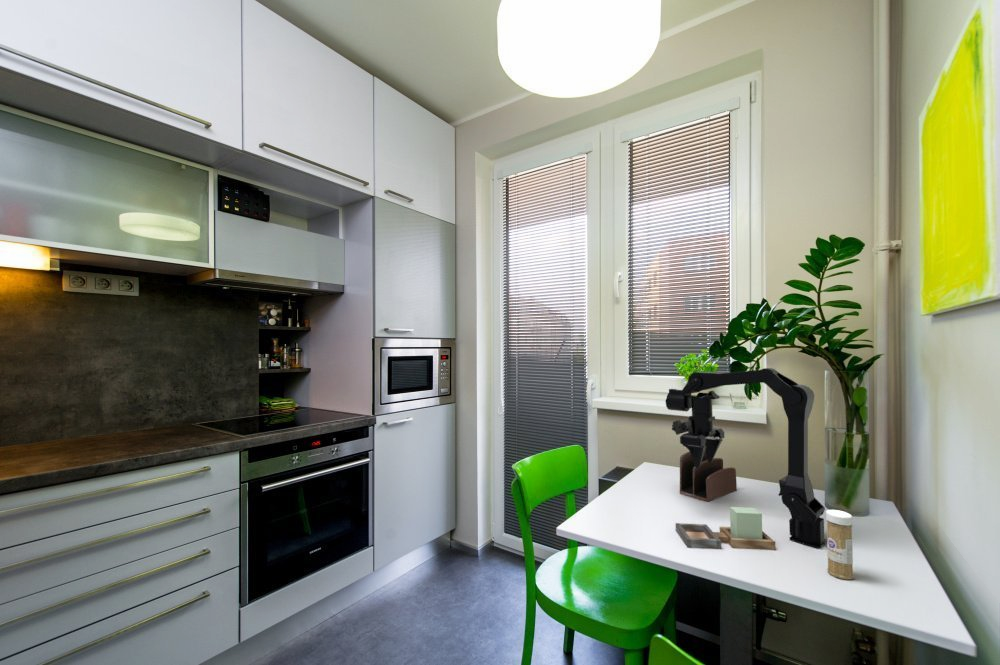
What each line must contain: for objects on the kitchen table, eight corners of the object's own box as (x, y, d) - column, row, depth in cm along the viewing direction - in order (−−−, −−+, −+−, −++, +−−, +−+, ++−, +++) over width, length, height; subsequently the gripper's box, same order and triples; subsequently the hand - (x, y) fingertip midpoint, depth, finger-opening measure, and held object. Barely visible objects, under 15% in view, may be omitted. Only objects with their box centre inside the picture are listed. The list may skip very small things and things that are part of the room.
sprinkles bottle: (822, 572, 95) (821, 510, 96) (835, 568, 97) (834, 507, 98) (846, 582, 91) (844, 518, 92) (859, 578, 93) (857, 514, 93)
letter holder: (679, 494, 147) (678, 452, 147) (709, 483, 159) (708, 444, 159) (707, 502, 139) (707, 458, 139) (737, 490, 150) (736, 450, 151)
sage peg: (754, 539, 112) (754, 507, 112) (762, 546, 108) (761, 513, 108) (730, 538, 113) (730, 506, 113) (737, 544, 109) (736, 512, 109)
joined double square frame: (757, 534, 115) (757, 526, 115) (777, 551, 105) (777, 543, 105) (675, 530, 117) (675, 523, 117) (687, 547, 107) (687, 539, 107)
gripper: (688, 407, 144) (690, 455, 143) (662, 413, 131) (663, 465, 130) (724, 410, 136) (725, 461, 135) (699, 417, 123) (701, 473, 122)
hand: (703, 464), depth 131 cm, fingers open, 9 cm apart
